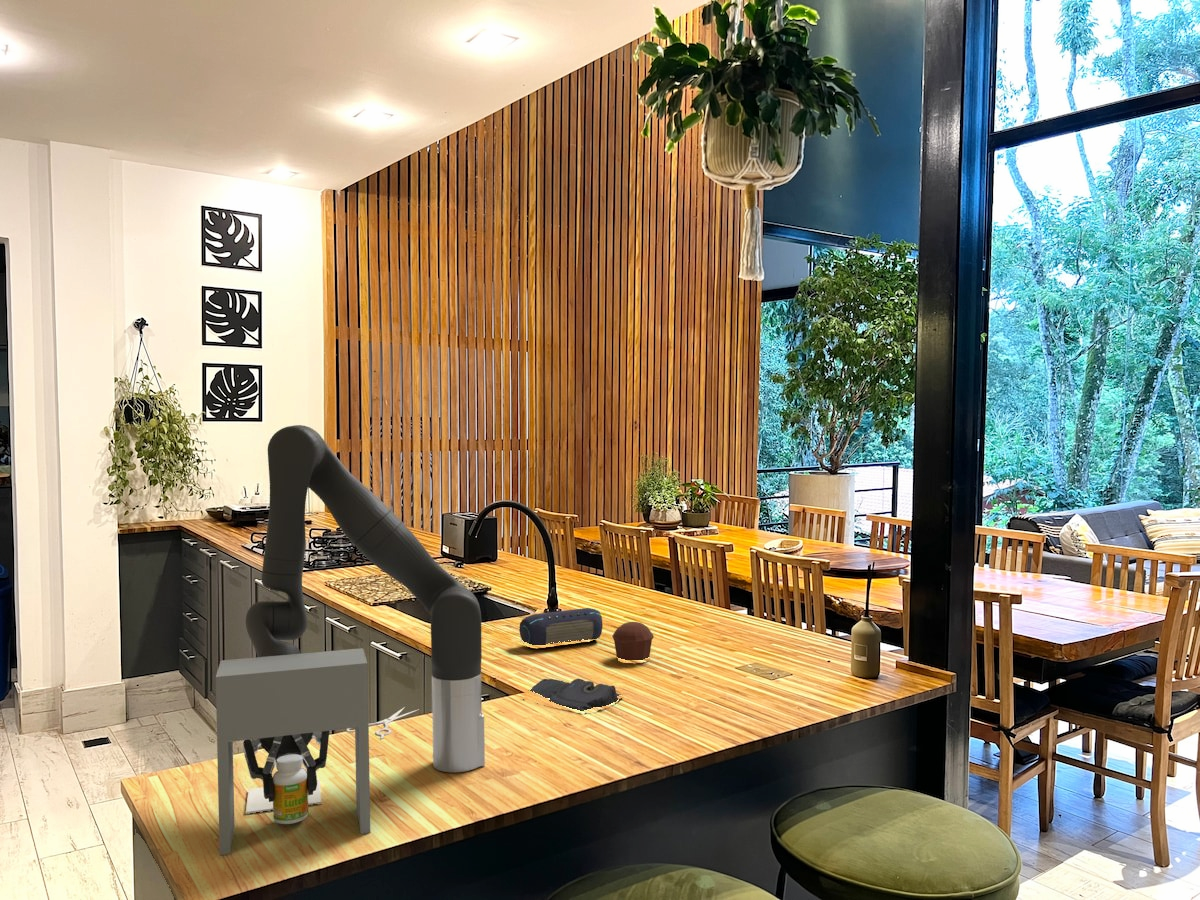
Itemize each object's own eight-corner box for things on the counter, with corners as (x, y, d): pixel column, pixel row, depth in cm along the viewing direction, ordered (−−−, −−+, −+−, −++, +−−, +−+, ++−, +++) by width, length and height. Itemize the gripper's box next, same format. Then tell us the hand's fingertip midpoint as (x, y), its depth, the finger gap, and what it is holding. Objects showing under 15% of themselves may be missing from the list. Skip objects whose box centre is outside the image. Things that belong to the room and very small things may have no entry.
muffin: (646, 667, 238) (646, 629, 238) (606, 663, 241) (606, 626, 241) (658, 655, 249) (658, 620, 249) (620, 653, 253) (620, 617, 252)
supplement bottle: (284, 828, 142) (282, 767, 142) (267, 818, 146) (265, 759, 146) (314, 816, 146) (313, 757, 146) (297, 807, 150) (295, 749, 150)
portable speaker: (530, 654, 252) (529, 619, 252) (516, 647, 261) (516, 612, 261) (609, 643, 264) (608, 609, 264) (593, 636, 273) (592, 603, 272)
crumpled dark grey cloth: (555, 685, 223) (555, 666, 223) (629, 701, 210) (628, 680, 210) (514, 701, 211) (514, 681, 211) (589, 719, 198) (589, 697, 198)
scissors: (339, 732, 188) (393, 703, 207) (339, 736, 188) (393, 706, 207) (382, 738, 185) (433, 708, 203) (382, 742, 185) (433, 711, 203)
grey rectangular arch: (365, 804, 153) (362, 646, 152) (370, 832, 142) (367, 663, 141) (225, 824, 146) (221, 658, 145) (219, 855, 135) (215, 676, 134)
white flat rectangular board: (319, 782, 163) (319, 779, 163) (321, 804, 153) (321, 801, 153) (248, 791, 159) (248, 789, 159) (245, 814, 149) (245, 812, 149)
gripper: (238, 696, 149) (243, 794, 139) (328, 684, 155) (339, 778, 145) (238, 718, 155) (243, 814, 144) (325, 706, 160) (336, 798, 150)
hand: (291, 795), depth 144 cm, fingers closed on supplement bottle, 5 cm apart
